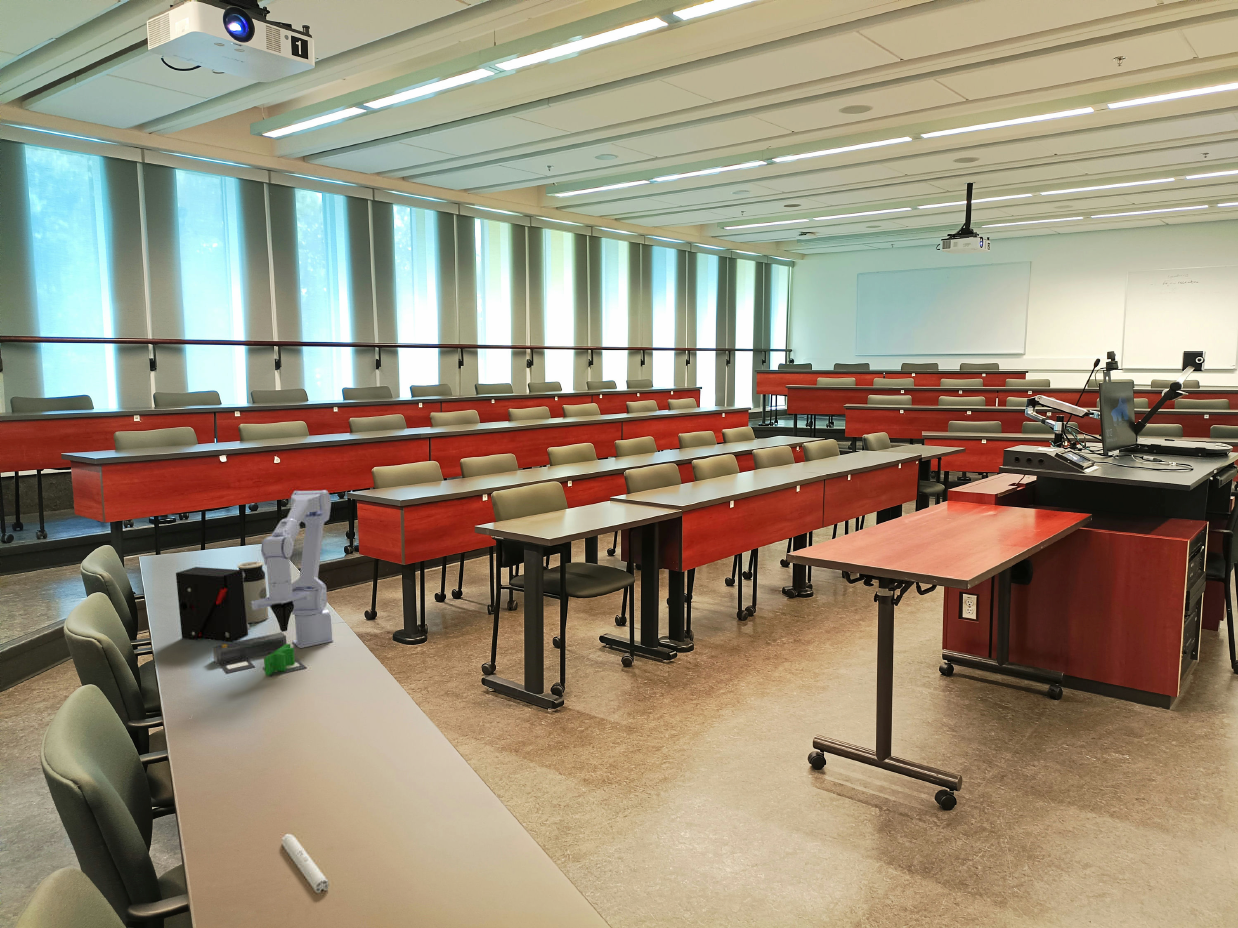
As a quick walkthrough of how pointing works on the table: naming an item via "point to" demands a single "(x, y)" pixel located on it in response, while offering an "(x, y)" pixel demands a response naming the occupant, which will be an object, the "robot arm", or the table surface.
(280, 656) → the pipe clamp
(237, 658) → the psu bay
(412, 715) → the table surface
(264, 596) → the travel mug
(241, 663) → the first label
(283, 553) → the robot arm
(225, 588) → the electrical component
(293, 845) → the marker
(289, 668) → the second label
